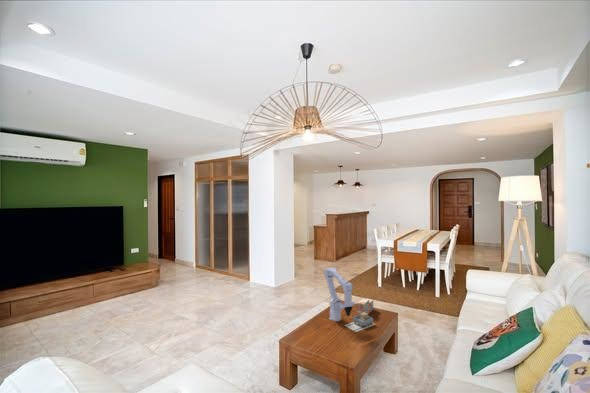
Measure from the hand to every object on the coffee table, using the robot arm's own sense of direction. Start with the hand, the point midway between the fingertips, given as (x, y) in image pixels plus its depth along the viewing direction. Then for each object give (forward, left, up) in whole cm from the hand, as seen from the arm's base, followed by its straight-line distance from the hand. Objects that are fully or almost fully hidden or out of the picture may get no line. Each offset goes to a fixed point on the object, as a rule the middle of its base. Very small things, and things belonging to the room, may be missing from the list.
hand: (348, 315), depth 227 cm
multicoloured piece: (-13, +33, -11) cm, 37 cm away
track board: (+3, +10, -10) cm, 15 cm away
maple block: (+3, +15, -6) cm, 16 cm away
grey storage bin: (+3, +14, -9) cm, 17 cm away
